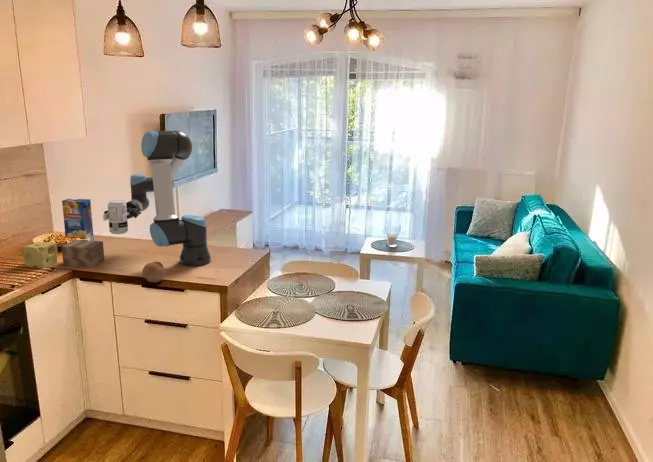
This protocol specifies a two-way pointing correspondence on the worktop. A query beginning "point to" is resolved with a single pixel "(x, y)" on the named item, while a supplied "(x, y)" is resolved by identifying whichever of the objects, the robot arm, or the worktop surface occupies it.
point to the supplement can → (117, 217)
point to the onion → (153, 272)
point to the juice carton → (78, 218)
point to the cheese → (40, 254)
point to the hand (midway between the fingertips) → (113, 218)
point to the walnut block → (83, 253)
